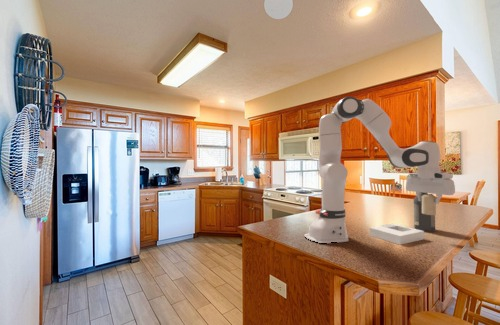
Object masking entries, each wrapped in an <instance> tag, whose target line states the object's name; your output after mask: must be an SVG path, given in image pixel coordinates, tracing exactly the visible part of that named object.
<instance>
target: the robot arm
mask: <svg viewBox="0 0 500 325" xmlns="http://www.w3.org/2000/svg"><path fill="white" fill-rule="evenodd" d="M352 119H357V120H359V121H360V122H361V124H362V125H363V126H364V127H365V128H366V129H367V130H368V131H369V132H370V134H371V135H372V136H373V138H374V139H375V141H376V142H377V143H378V144H379V146H380V147H381V148H382V150H383V151H384V152H385V153H386V155H387V157H388V161H389V164H390V165H391V166H392V167H394V168H395V169H396V168H397V169H402V168H403V169H404V168H415V167H416V168H417V173H409V174H408V175H406V181H405V182H406V184H405V190H406V191H407V192H415V194H416V196H417V197H418V201H422V197H421V195H420V194H421V192H423V193H428V194H433V195H434V194H435V197H436V199H434V203H436V205H437V204H440V200H441V199H442V197H443V195H444V196H453V195H454V194H455V193H456V185H455V182H454V179H453V177H454V176H453V174H452V173H449V172H446V171H442V170H441V166H440V161H441V151H440V150H441V149H440V146H439V144H438V143H437V142H436V141H435V142H434V141H431V140H430V141H429V140H422V141H420V142H418V143H417V144H415V145H413V146H410V147H407V148H401V147H399V146H398V145H397V143H396V142H395V141H394V139H393V138H392V137H391V135H390V129H391V127H392V120H391V117H390V116H389V115H388V113H387V112H385V111H384V109H383V108H382V107H381V106H380V105H379V104H377V103H376V102H375V101H373V100H372V99H370V98H365V99H362V100H361V99H359V98H357V97H354V96H345V97H343V98H342V99H340V100H339V101H337V103H335V105H334V106H333V108H332V109H331V111H330V112H329V113H327V114H323V115H322V116H321V117H320V118H319V123H318V142H319V158H318V159H319V162H318V167H319V168H318V173H319V176H320V178H321V179H322V180H323V181H322V190H321V209H320V210H318V209H316V210H315V214H317V215H319V216H318V217H317V218H316V219H315V220H314V221H313V222H311V224H309V227H308V233H304V235H303V237H304V236H305V237H306V238H307V239H306V238H305V237H304V238H305V239H306V240H308V239H309V240H308V241H310V240H311V241H310V242H312V241H315V242H318V243H317V244H319V243H327V244H332V243H331V242H337V243H346V242H349V235H348V231H347V223H346V220H345V218H346V209H345V189H346V182H347V177H348V169H347V166H345V164H343V163H342V162H341V156H342V151H343V144H342V132H341V127H342V124H344V123H347V122H348V121H350V120H352ZM315 242H314V243H315Z"/></svg>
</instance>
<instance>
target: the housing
mask: <svg viewBox="0 0 500 325" xmlns="http://www.w3.org/2000/svg"><path fill="white" fill-rule="evenodd" d="M369 236H371V237H374V238H377V239H380V240H382V241H387V242H389V243H393V244H397V245H398V246H399V245H400V246H401V245H405V244H410V243H413V242H419V241H422V240H425V231H422V230H417V229H415V228H412V227H409V226H403V225H400V224H396V223H389V224H384V225H378V226H377V225H376V226H371V227H369Z"/></svg>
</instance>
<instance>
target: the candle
mask: <svg viewBox="0 0 500 325" xmlns="http://www.w3.org/2000/svg"><path fill="white" fill-rule="evenodd" d="M436 198H437V196H436V195H434V194H433V193H428V194H427V193H426V194H424V195H423V196H422V214H426V215H435V216H436V214H437V203H434V199H436Z"/></svg>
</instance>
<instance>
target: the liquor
mask: <svg viewBox="0 0 500 325" xmlns="http://www.w3.org/2000/svg"><path fill="white" fill-rule="evenodd" d="M424 194H426V193H423V192H421V194H420V195H421V197H422V196H423V195H424ZM427 194H429V193H427ZM413 226H414V229H417V230H422V231H424V232H426V233H427V232H428V233H433V232H435V231H436V215H426V214H422V201H418V197H417V195H416V196H415V197H414V198H413Z"/></svg>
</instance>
